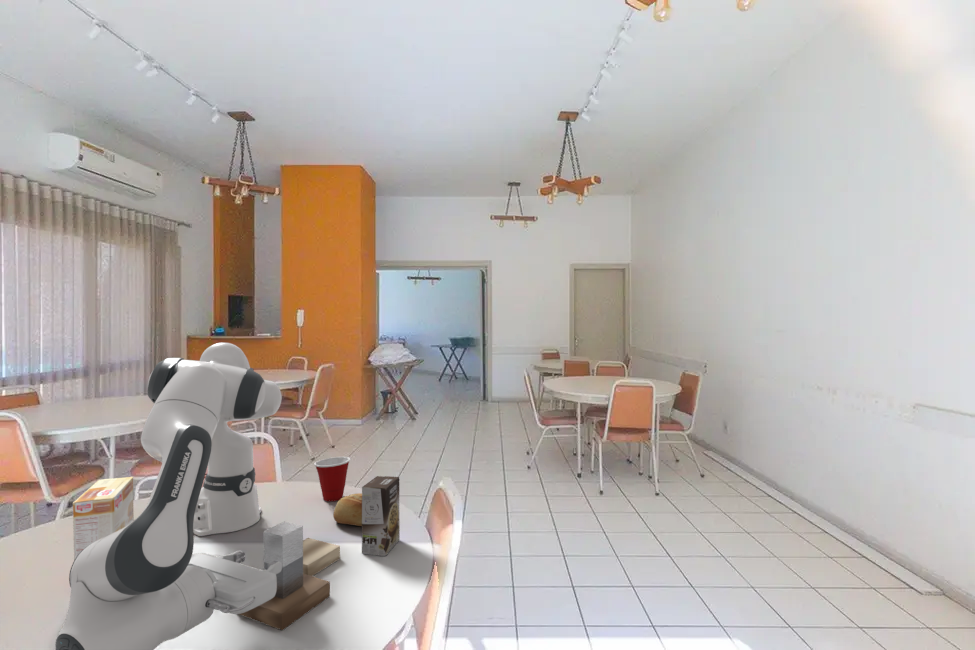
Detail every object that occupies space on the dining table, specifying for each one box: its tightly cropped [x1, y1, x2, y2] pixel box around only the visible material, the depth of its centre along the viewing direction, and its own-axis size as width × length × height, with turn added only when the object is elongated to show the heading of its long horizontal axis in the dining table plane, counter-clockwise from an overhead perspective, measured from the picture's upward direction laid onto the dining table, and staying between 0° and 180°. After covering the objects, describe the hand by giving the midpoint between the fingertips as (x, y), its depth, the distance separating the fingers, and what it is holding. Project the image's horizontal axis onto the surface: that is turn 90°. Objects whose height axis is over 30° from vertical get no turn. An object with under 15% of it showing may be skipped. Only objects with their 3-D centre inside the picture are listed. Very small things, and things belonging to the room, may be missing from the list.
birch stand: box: [303, 537, 341, 577], centre depth 113 cm, size 10×10×3 cm
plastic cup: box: [313, 456, 351, 503], centre depth 154 cm, size 11×11×12 cm
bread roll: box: [332, 492, 362, 527], centre depth 135 cm, size 10×15×8 cm, turn 72°
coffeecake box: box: [71, 476, 135, 561], centre depth 107 cm, size 15×7×20 cm, turn 22°
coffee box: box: [361, 475, 401, 557], centre depth 121 cm, size 9×6×16 cm
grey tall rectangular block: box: [263, 521, 304, 599], centre depth 97 cm, size 5×5×12 cm
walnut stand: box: [238, 574, 331, 631], centre depth 97 cm, size 12×12×3 cm
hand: (260, 560), depth 91 cm, fingers open, 8 cm apart
